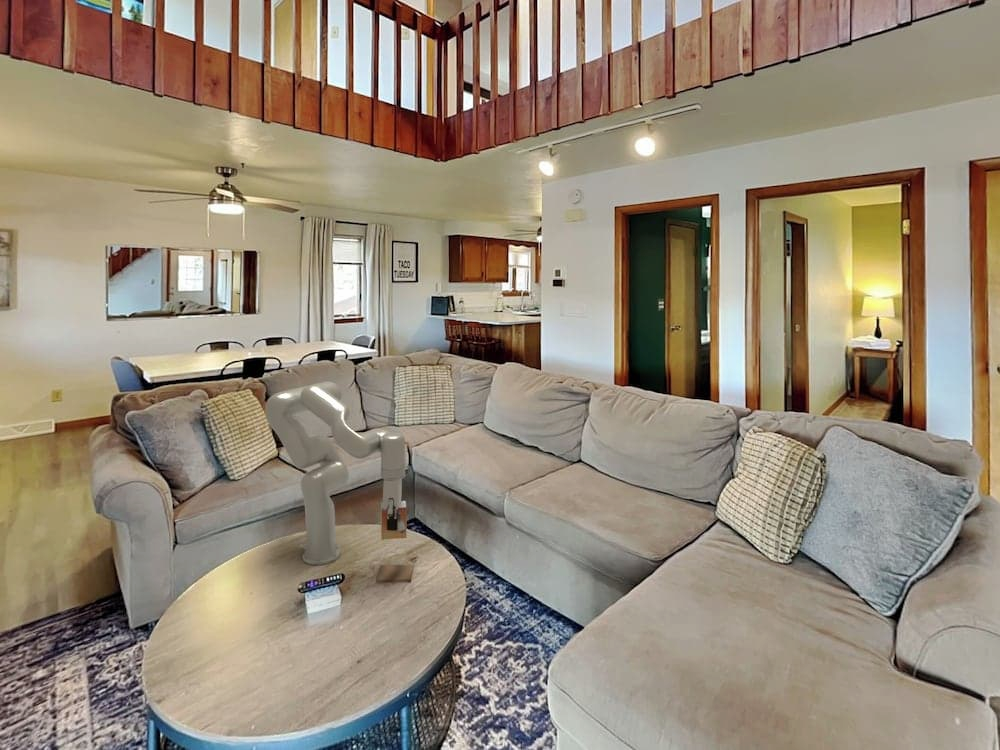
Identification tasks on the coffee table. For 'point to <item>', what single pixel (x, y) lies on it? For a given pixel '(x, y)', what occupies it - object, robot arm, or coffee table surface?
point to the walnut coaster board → (394, 573)
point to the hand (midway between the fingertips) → (393, 524)
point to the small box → (402, 523)
